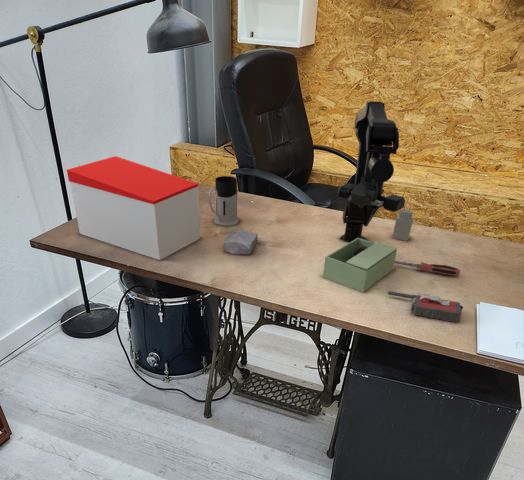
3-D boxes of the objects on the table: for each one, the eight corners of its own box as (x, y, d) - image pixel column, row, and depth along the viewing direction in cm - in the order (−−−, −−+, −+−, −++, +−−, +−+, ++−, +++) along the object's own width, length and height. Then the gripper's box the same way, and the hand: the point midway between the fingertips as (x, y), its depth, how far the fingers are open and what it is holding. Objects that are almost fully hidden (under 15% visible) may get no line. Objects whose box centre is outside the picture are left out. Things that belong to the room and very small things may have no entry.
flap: (377, 242, 145) (377, 241, 145) (397, 248, 142) (397, 247, 142) (346, 262, 133) (346, 261, 133) (366, 269, 130) (367, 268, 130)
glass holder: (243, 220, 174) (243, 178, 165) (220, 232, 164) (219, 188, 155) (223, 214, 178) (223, 174, 169) (200, 226, 168) (198, 183, 159)
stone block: (222, 257, 152) (252, 255, 150) (219, 243, 150) (249, 241, 147) (231, 244, 162) (260, 242, 159) (229, 230, 159) (257, 228, 157)
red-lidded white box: (123, 215, 173) (115, 155, 161) (200, 238, 160) (197, 175, 147) (78, 233, 159) (66, 169, 146) (159, 260, 145) (152, 192, 133)
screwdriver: (376, 265, 148) (377, 256, 146) (377, 261, 150) (378, 253, 148) (458, 279, 143) (461, 270, 141) (458, 274, 145) (461, 266, 143)
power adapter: (394, 234, 169) (401, 201, 161) (409, 238, 167) (417, 204, 160) (391, 237, 166) (398, 204, 159) (406, 241, 164) (414, 207, 157)
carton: (354, 256, 153) (357, 237, 149) (392, 269, 146) (397, 250, 142) (322, 276, 140) (325, 256, 137) (362, 292, 134) (366, 271, 130)
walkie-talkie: (461, 307, 129) (386, 294, 133) (465, 293, 126) (389, 280, 130) (462, 324, 122) (384, 310, 126) (467, 309, 120) (387, 296, 124)
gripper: (330, 170, 130) (324, 224, 139) (392, 185, 121) (381, 242, 130) (351, 162, 137) (343, 215, 146) (411, 176, 128) (399, 231, 137)
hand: (365, 225), depth 140 cm, fingers closed
